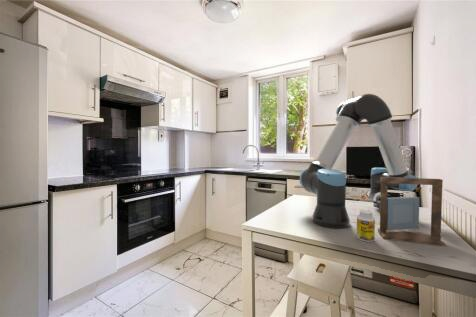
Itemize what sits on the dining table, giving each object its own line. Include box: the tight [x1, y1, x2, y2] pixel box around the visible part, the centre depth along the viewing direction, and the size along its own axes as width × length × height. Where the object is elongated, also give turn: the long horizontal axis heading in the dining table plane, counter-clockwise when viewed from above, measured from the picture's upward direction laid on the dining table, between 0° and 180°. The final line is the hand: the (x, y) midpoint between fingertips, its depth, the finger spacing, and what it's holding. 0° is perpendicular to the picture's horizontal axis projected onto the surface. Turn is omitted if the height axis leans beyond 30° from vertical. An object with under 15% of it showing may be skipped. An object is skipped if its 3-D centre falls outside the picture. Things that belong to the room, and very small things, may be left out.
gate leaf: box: [386, 196, 421, 231], centre depth 82 cm, size 13×2×12 cm, turn 96°
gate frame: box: [377, 177, 446, 247], centre depth 78 cm, size 18×8×22 cm, turn 69°
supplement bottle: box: [356, 209, 376, 243], centre depth 77 cm, size 6×6×10 cm
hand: (402, 215), depth 83 cm, fingers closed
